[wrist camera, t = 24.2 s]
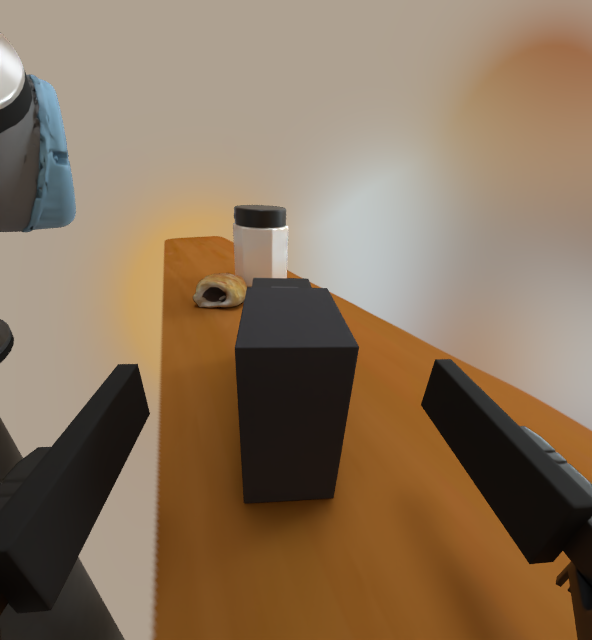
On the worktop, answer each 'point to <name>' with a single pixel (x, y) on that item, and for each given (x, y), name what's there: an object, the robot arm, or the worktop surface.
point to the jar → (260, 242)
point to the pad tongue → (292, 392)
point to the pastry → (220, 290)
